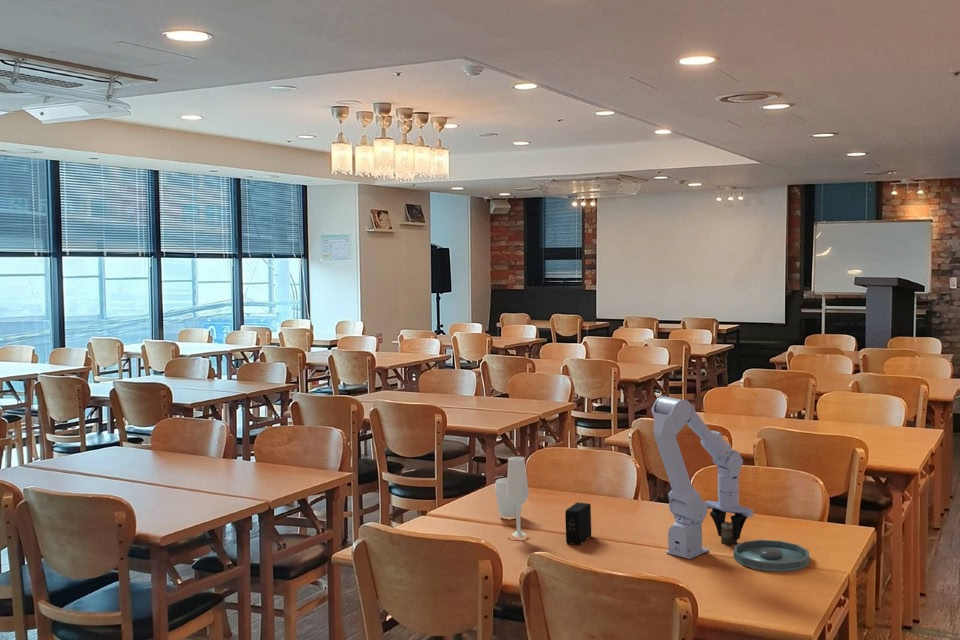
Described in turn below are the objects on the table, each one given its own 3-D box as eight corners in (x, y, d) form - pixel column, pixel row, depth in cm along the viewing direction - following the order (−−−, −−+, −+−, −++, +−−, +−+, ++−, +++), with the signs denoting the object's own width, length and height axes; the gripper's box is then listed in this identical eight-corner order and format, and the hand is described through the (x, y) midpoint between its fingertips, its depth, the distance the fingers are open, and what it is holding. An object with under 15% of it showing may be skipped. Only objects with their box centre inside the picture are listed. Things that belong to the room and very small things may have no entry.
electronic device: (565, 544, 262) (564, 510, 262) (578, 534, 271) (577, 501, 270) (579, 545, 260) (578, 511, 260) (591, 535, 269) (590, 502, 268)
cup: (491, 516, 293) (490, 479, 293) (516, 511, 297) (515, 476, 296) (503, 523, 285) (502, 485, 284) (529, 518, 289) (527, 481, 288)
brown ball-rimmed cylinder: (731, 546, 255) (731, 526, 255) (718, 543, 258) (717, 523, 258) (740, 542, 258) (739, 522, 258) (726, 539, 261) (726, 519, 261)
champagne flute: (534, 538, 269) (532, 458, 267) (515, 542, 265) (513, 462, 264) (521, 532, 275) (519, 454, 273) (503, 536, 271) (500, 458, 269)
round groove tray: (786, 577, 229) (785, 568, 229) (720, 560, 244) (720, 552, 243) (822, 558, 242) (822, 550, 242) (757, 543, 257) (757, 535, 256)
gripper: (758, 491, 254) (759, 539, 255) (714, 483, 265) (714, 529, 266) (745, 497, 250) (746, 545, 251) (700, 488, 260) (701, 534, 261)
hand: (729, 537), depth 258 cm, fingers closed on brown ball-rimmed cylinder, 4 cm apart
